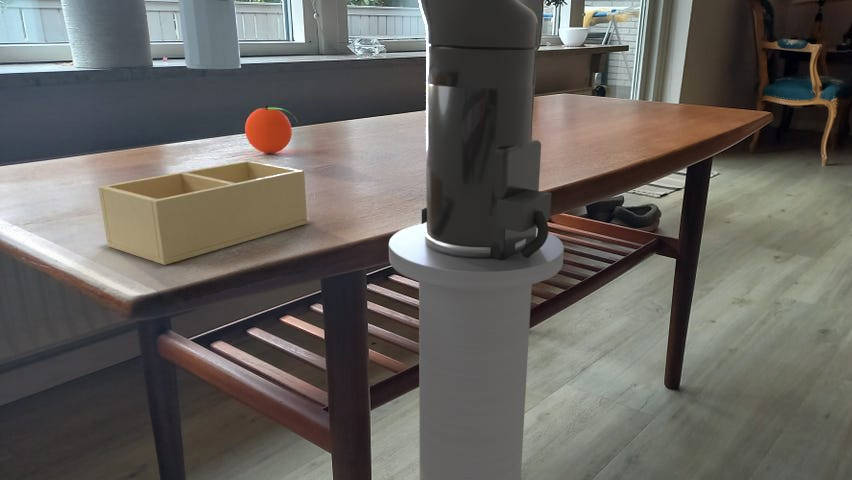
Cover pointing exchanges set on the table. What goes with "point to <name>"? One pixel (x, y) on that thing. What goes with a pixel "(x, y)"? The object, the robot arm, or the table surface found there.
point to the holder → (202, 209)
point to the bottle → (210, 34)
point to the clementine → (268, 130)
